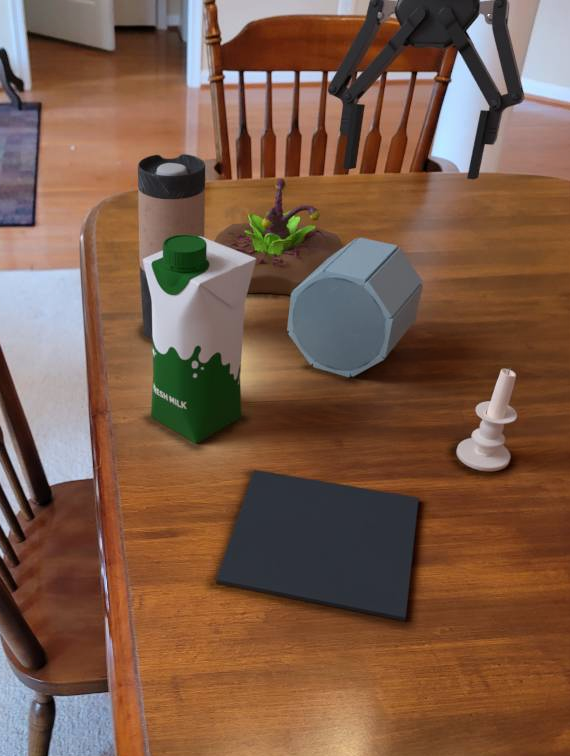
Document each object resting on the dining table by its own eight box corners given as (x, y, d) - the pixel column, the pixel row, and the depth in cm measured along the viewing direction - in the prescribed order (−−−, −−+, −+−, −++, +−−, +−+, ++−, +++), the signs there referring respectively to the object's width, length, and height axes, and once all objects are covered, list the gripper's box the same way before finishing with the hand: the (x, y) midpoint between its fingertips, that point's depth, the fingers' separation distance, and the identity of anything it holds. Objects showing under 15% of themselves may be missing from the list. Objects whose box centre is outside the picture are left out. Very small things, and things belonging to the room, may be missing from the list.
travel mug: (173, 351, 101) (174, 181, 87) (128, 330, 105) (122, 165, 91) (214, 328, 105) (220, 163, 92) (169, 309, 109) (169, 147, 95)
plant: (347, 241, 124) (358, 163, 117) (345, 301, 110) (357, 217, 103) (214, 232, 127) (216, 155, 119) (195, 290, 113) (196, 207, 105)
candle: (494, 438, 87) (522, 350, 80) (518, 468, 83) (550, 378, 76) (447, 444, 87) (471, 355, 80) (469, 474, 83) (496, 384, 76)
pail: (318, 323, 106) (330, 230, 98) (409, 348, 101) (430, 252, 93) (284, 358, 99) (293, 262, 91) (380, 386, 95) (399, 287, 87)
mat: (417, 501, 80) (418, 497, 79) (404, 621, 69) (406, 617, 68) (253, 473, 83) (254, 469, 83) (215, 583, 72) (215, 579, 72)
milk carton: (138, 417, 91) (132, 236, 77) (196, 386, 95) (200, 210, 82) (196, 451, 86) (201, 265, 72) (254, 416, 91) (269, 235, 77)
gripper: (316, -64, 84) (291, 165, 94) (583, -72, 75) (524, 184, 85) (337, -51, 90) (311, 163, 100) (587, -57, 81) (531, 181, 91)
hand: (409, 173), depth 92 cm, fingers open, 13 cm apart
